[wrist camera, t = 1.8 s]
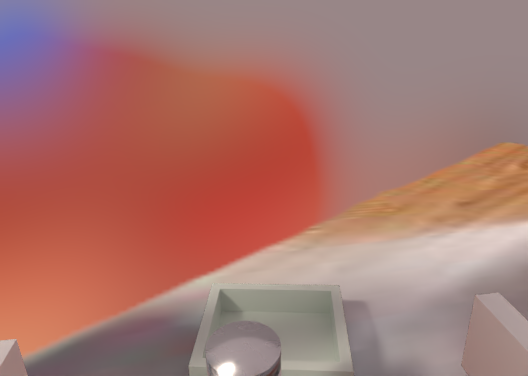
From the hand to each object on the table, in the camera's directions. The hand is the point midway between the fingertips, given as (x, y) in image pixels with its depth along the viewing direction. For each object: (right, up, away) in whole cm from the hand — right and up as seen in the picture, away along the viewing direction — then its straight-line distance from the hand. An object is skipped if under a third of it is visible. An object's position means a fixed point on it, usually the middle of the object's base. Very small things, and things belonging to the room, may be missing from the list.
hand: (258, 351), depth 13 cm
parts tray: (+1, -12, +31) cm, 33 cm away
